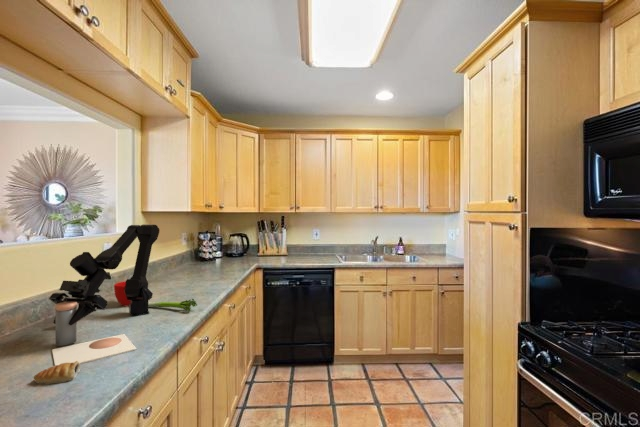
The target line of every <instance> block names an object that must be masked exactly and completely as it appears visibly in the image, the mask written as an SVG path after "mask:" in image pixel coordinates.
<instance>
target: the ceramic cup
mask: <svg viewBox="0 0 640 427" xmlns="http://www.w3.org/2000/svg"><path fill="white" fill-rule="evenodd" d="M125 285H126V280H125V281H121V282H116V283H114V285H113V286H114V296H115V298H116V300H117V302H118V303H119V304H120V305H122V306H124V307H129V304H130V303H131V300H127V297H126V294H125V289H124V287H125Z"/></svg>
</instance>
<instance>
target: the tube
mask: <svg viewBox="0 0 640 427" xmlns="http://www.w3.org/2000/svg"><path fill="white" fill-rule="evenodd" d="M77 309H78V303H77V302H76V301H68V302H62V303H58V304H54V311H55V315H56V324H54V325H55V329H54V330H55V333H54V334H55V336H54V337H55V338H54V340H55V346H57V347H66V346H70V345H73V344H74V343H75V344H76V342H77V330H78V329H77V328H78V327H77V322H78V321H77V322H76V323H74V324H73V325H69V322H70V320H71V318H72V317H73V315H74V314H75V312H76V310H77Z"/></svg>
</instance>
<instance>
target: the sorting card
mask: <svg viewBox="0 0 640 427" xmlns="http://www.w3.org/2000/svg"><path fill="white" fill-rule="evenodd" d="M133 351H137V347H136V346H135V345H134V344H133V342H132V341H131V339H130V338H128V336H127V335H126V334H125V333H123V334H118V335H113V336H107V337H104V338H99V339H94V340H89V341H86V342H81V343H80V342H79V343H77V344H76V343H75V344H70V345H65V346H60V347H57V348H54V349H51V353H52V357H53V363H54V366H55V365H60V364H62V363H74V362H76V361H78V362H79V364H80V365H81V364H82V365H83V364H86V363H90V362H95V361H98V360H101V359H105V358H110V357H113V356H117V355H122V354H127V353H129V352H133Z"/></svg>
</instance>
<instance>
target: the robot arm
mask: <svg viewBox="0 0 640 427" xmlns="http://www.w3.org/2000/svg"><path fill="white" fill-rule="evenodd" d="M159 235H160V227H158V225H157V224H141V225H139V224H131V225H128V226H127V229H126V230H125V231H124V232H123V234H121V236H120V237H118V238H117V240H116V241H115V242H114V243H113V244H112V246H110V247H109V248H107V249H104V250H103V251H101V252H100V253H99V254H98V255H97V256H95V257H94V256H92V254H91V253H90V252H89V251H83V252H82V253H81V254H79V255H76V256H75V257H74V258H72V259H71V260H70V262H69V266H70V267H71V268H72V269H73V270H74V271H76V272H77V273H78V274H79V275H80V276H81V277H84V279H78V280H77V281H75V280H74V281H73V280H62V281H61V282H62V283H61V285H60V287H59V291H65V292H67V293H65V292H53V293H52V294H51V295H50V296H49V297H48V299H49V300H50V301H51V302H53V303H54V305H56V304H58V303H62V302H68V301H76V302H77V310H76V312H75V314H74V315H73V317H72V318H71V320H70V322H69V325H73V324H74V323H76V322H79V321H80V320H82V319H83V318H85V317H87V316H88V315H90V314H91V313H94V312H96V311H98V310H101V311H105V309H107V306H108V301H107V300H106V299H105V298H104V297H103V296H101V294H100V292H101V290H100V287H101V286H102V284H103V282H104V281H105V280H109V281H110V280H112V277H111V276H112V275H111V272H110V271H109V272H108V271H106V270H116V269H117V268H118V267H119V265H120V263H121V262H122V260H123V255H124V253H125V252H126V251H127V249H129V247H130V246H131V245H132V244H133V243H134V242H135V240H136V239H137V240H138V242H139V244H138V250H137V255H136V260H135V264H134V268H133V274H132V276H131V277H130V278H129V279H126V280H125V281H126V285H125V287H124V289H125V294H126V297H127V300H131V303H130V304H129V306H128V312H129V314H130V315H131V316H132V317H136V316H141V315H147V314H148V315H149V314H150V311H149V307H148V302H149V301H150V300H152V298H153V294H154V293H153V292H152V291H151V290H150V289H149V282H148V280H147V272H148V266H149V262H150V258H151V257H150V256H151V253H152V252H151V251H152V249H153V248H152V247H153V244H154V243H156V241H157V240H158V238H159ZM96 293H98V294H96ZM53 324H54V325H55V324H56V314H55V316H54V319H53Z"/></svg>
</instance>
